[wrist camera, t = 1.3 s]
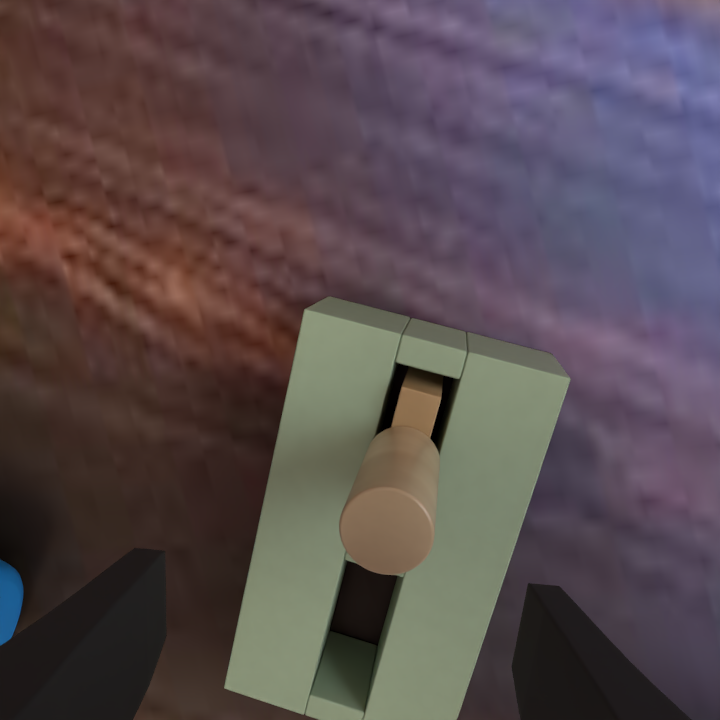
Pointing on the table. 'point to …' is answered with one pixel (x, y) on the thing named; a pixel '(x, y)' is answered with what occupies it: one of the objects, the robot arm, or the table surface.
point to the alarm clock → (9, 600)
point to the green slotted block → (330, 492)
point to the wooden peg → (397, 485)
